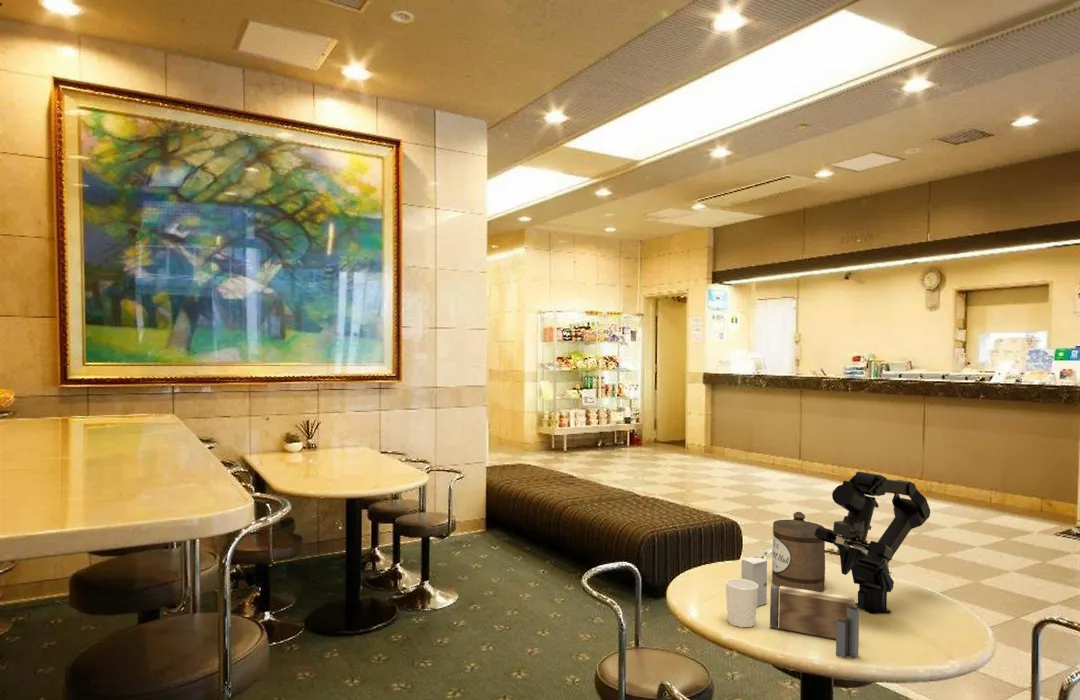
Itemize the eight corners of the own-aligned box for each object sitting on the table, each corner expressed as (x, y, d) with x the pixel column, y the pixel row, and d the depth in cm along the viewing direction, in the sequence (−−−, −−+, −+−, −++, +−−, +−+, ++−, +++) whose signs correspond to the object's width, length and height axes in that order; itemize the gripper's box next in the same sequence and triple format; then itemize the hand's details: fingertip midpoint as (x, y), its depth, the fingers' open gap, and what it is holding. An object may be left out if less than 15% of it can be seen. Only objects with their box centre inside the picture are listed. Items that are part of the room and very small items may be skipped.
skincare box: (753, 608, 179) (754, 563, 179) (739, 602, 183) (740, 559, 183) (767, 604, 182) (768, 560, 183) (754, 598, 186) (755, 555, 186)
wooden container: (768, 575, 207) (770, 505, 207) (818, 579, 204) (820, 508, 204) (775, 591, 193) (777, 516, 193) (829, 596, 190) (831, 520, 190)
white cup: (734, 614, 175) (735, 576, 175) (762, 623, 169) (763, 584, 169) (719, 622, 169) (720, 583, 169) (747, 631, 163) (748, 591, 164)
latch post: (835, 655, 151) (836, 607, 152) (843, 651, 154) (844, 603, 154) (851, 660, 149) (852, 612, 149) (858, 656, 151) (859, 608, 151)
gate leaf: (769, 626, 166) (770, 586, 166) (770, 623, 167) (771, 584, 168) (854, 642, 158) (854, 600, 158) (853, 638, 160) (854, 597, 160)
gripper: (813, 500, 179) (796, 555, 175) (883, 517, 165) (867, 578, 161) (830, 512, 186) (815, 566, 182) (900, 530, 171) (885, 589, 167)
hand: (843, 574), depth 173 cm, fingers closed
